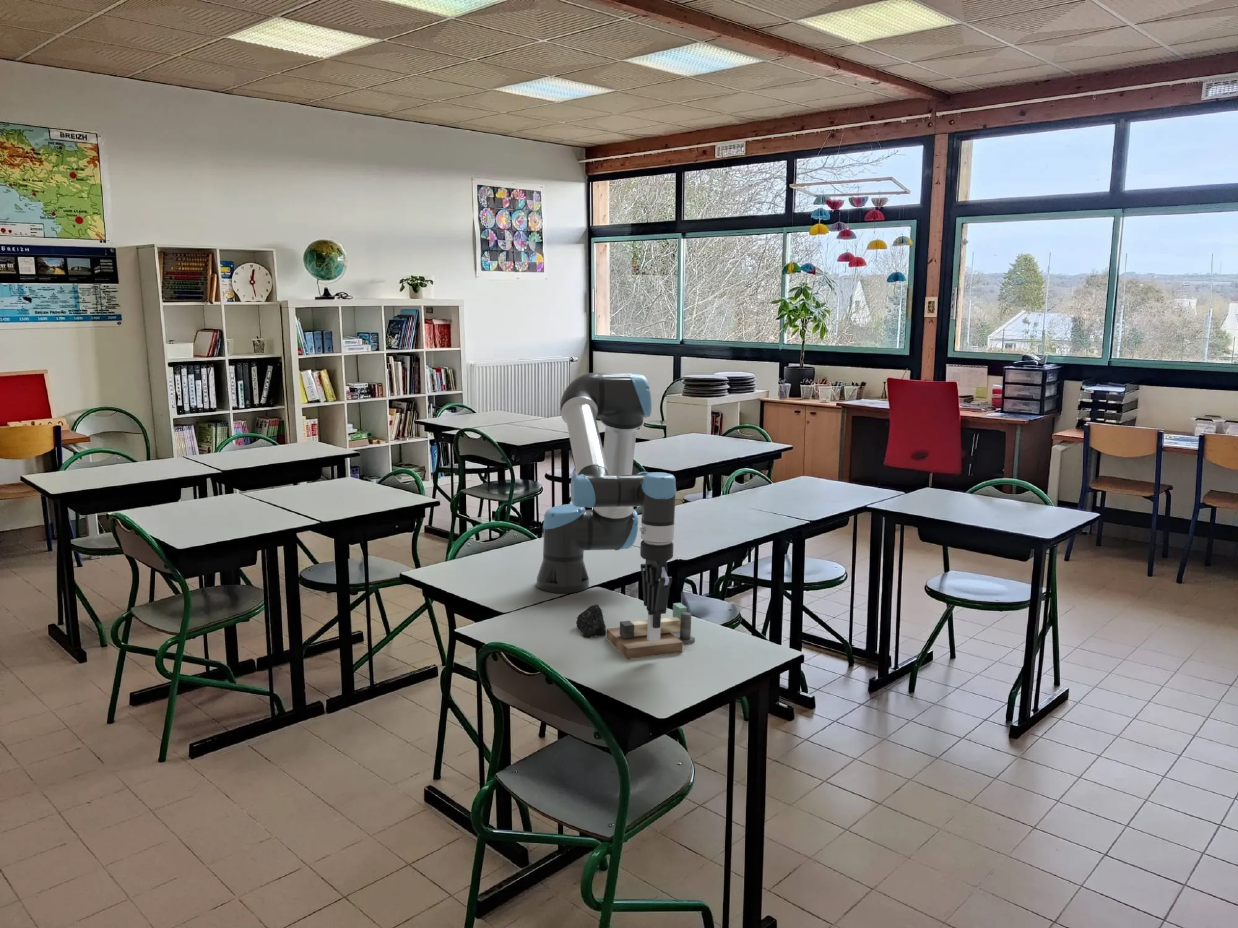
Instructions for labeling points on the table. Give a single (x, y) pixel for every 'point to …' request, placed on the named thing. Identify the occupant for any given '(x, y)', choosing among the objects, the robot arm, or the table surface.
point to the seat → (646, 648)
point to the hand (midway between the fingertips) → (653, 639)
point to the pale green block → (678, 610)
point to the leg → (640, 627)
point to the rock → (591, 622)
